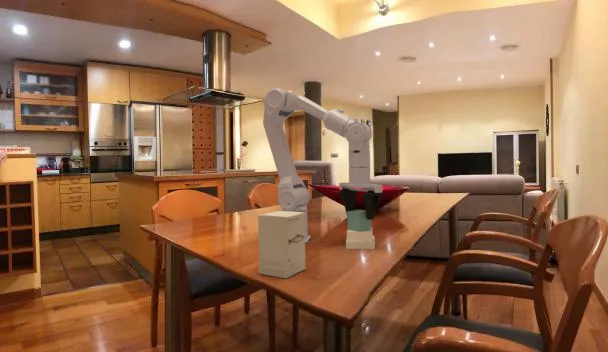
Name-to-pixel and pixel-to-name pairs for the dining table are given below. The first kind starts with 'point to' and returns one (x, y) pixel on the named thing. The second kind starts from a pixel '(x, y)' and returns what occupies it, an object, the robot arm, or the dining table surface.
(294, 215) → the supplement box
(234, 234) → the dining table surface
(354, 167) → the robot arm
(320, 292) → the dining table surface
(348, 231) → the top slab
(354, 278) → the dining table surface
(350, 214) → the teal block
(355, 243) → the bottom slab
